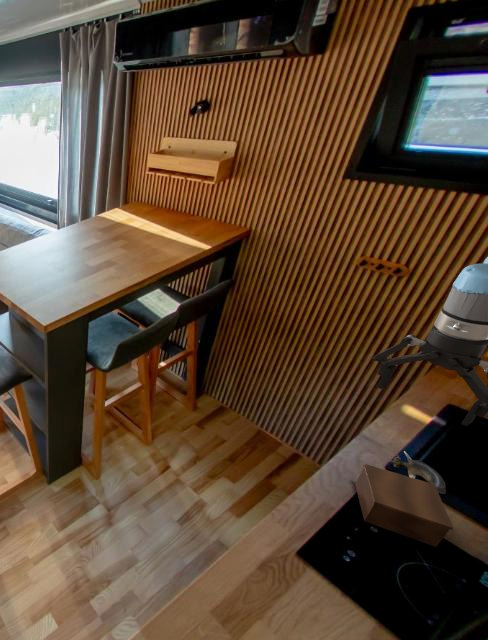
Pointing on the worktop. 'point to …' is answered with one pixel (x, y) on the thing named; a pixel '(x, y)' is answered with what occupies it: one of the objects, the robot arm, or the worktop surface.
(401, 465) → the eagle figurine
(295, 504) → the worktop surface
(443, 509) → the walnut pedestal
